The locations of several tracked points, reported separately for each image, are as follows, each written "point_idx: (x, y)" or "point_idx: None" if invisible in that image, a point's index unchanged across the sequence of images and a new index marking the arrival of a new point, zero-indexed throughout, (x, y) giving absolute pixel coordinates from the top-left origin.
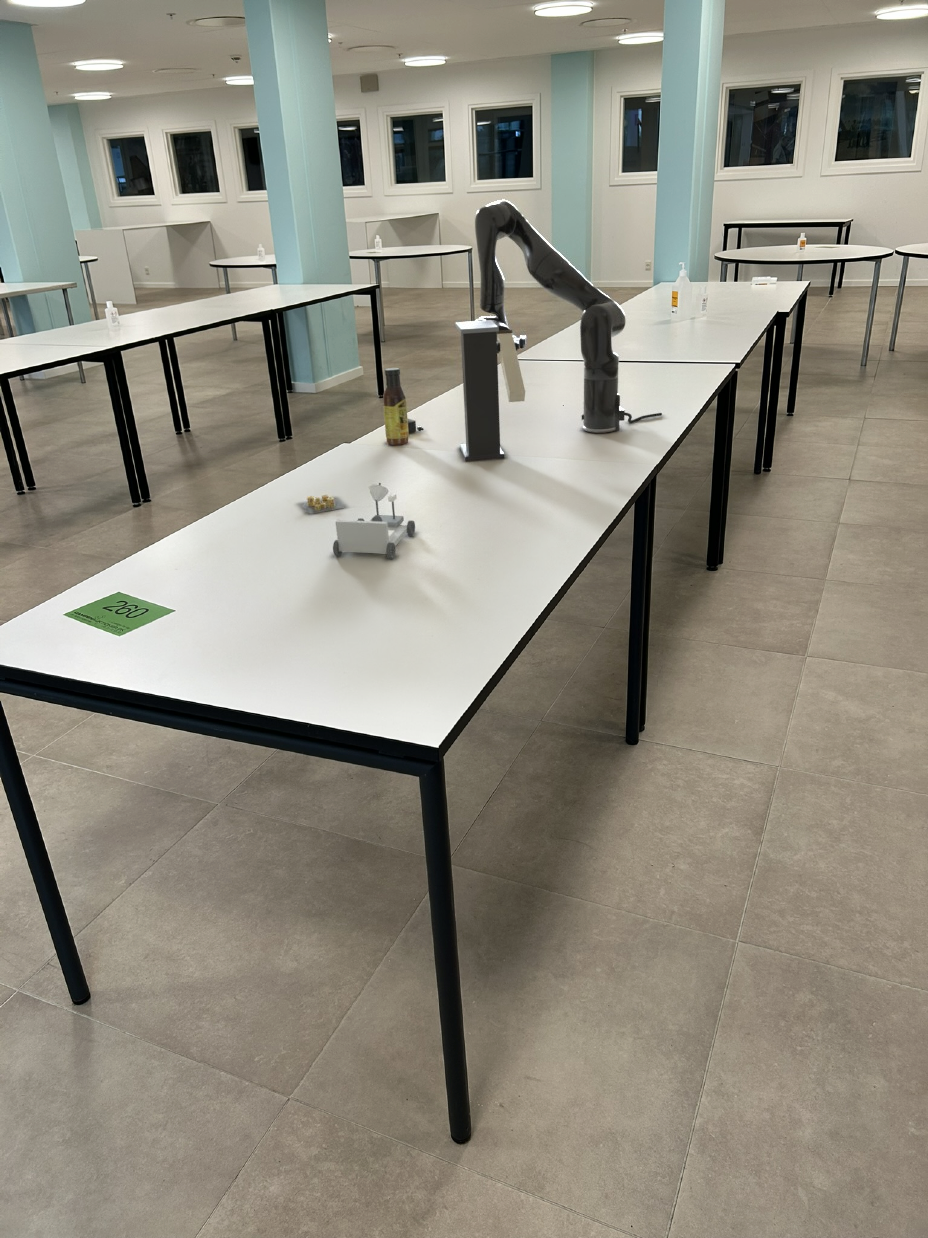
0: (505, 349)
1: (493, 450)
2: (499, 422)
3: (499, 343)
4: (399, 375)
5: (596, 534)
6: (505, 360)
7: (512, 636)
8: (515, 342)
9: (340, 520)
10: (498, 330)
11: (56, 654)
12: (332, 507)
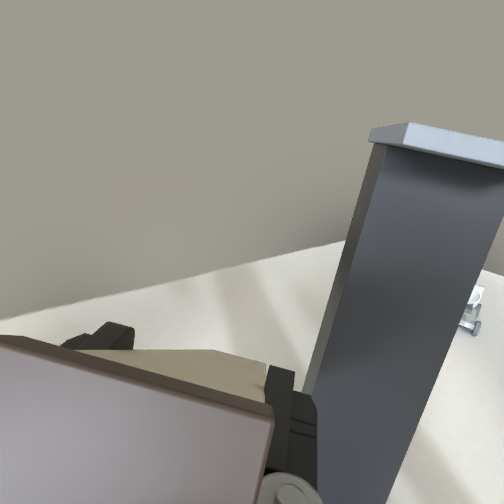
0: (227, 371)
1: None
2: (304, 383)
3: (275, 366)
4: None
5: (260, 261)
6: (250, 370)
7: (344, 242)
8: (124, 327)
9: (480, 286)
10: (368, 139)
11: None
12: None
